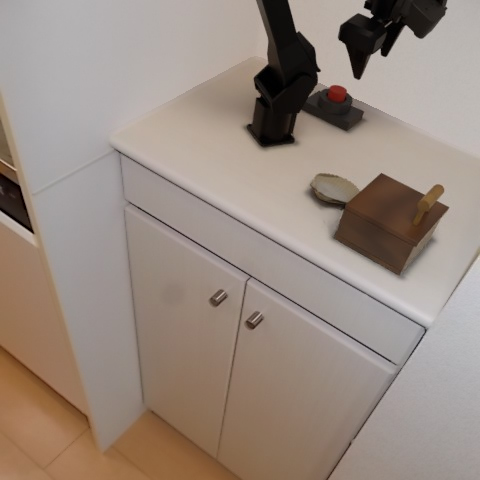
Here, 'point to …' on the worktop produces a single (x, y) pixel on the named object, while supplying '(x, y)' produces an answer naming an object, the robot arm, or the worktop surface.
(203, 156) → the worktop surface
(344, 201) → the seashell
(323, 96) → the button block
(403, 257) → the chest
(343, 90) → the button
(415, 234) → the lid
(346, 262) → the worktop surface
